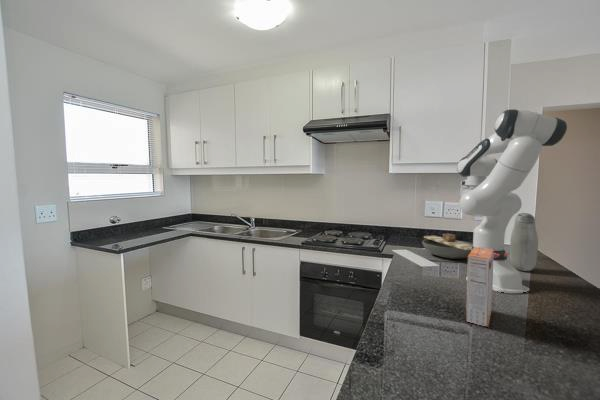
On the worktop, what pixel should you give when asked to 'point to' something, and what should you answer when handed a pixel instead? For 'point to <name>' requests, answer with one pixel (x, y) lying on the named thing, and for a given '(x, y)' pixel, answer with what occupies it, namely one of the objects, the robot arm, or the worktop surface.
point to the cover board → (455, 244)
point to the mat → (415, 258)
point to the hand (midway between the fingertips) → (475, 207)
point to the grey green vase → (524, 243)
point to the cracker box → (479, 286)
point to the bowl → (446, 249)
